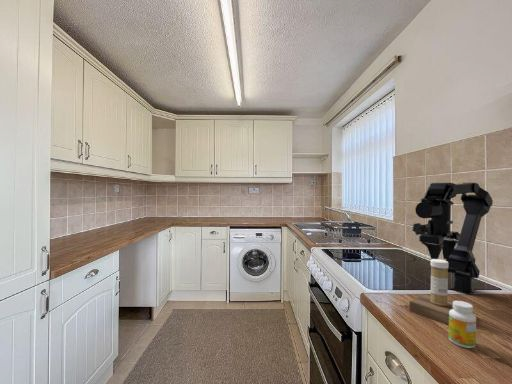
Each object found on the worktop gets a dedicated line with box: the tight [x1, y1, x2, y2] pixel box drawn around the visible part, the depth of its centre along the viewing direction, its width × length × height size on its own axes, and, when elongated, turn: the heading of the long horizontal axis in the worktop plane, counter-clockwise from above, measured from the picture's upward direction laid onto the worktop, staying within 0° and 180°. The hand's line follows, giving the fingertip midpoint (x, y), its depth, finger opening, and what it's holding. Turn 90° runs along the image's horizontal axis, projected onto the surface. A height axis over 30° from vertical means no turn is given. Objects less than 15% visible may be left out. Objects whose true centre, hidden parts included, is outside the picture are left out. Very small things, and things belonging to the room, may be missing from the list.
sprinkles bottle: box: [430, 258, 449, 306], centre depth 82 cm, size 5×5×13 cm
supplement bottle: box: [448, 300, 477, 349], centre depth 66 cm, size 5×5×10 cm
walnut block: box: [409, 293, 454, 326], centre depth 81 cm, size 12×12×3 cm
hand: (439, 260), depth 95 cm, fingers open, 9 cm apart
